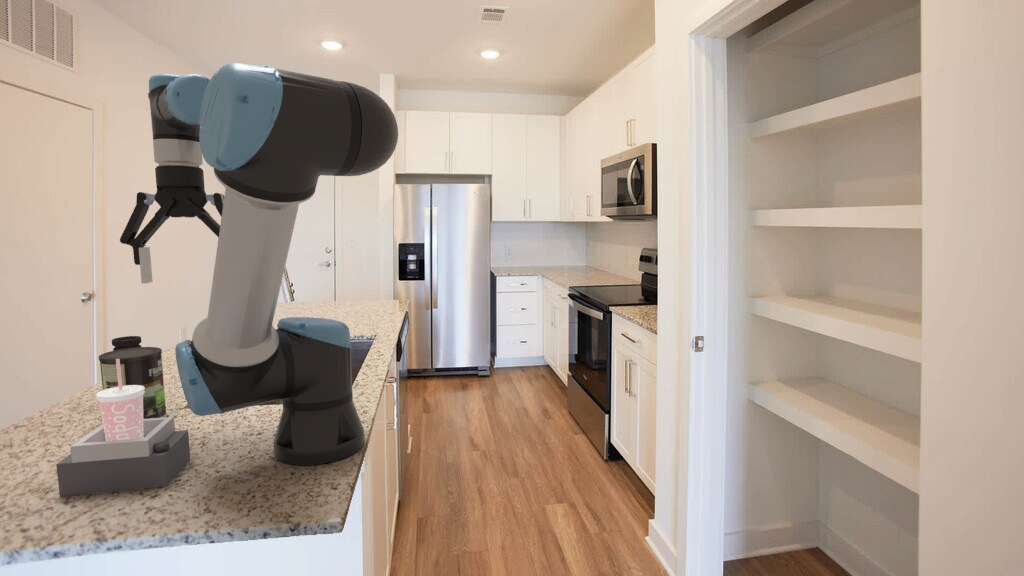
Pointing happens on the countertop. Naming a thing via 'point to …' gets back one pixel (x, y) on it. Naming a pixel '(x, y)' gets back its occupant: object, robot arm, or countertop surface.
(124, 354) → the coffee can
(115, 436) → the beverage cup
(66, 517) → the countertop surface
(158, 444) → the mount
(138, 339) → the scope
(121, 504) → the countertop surface
